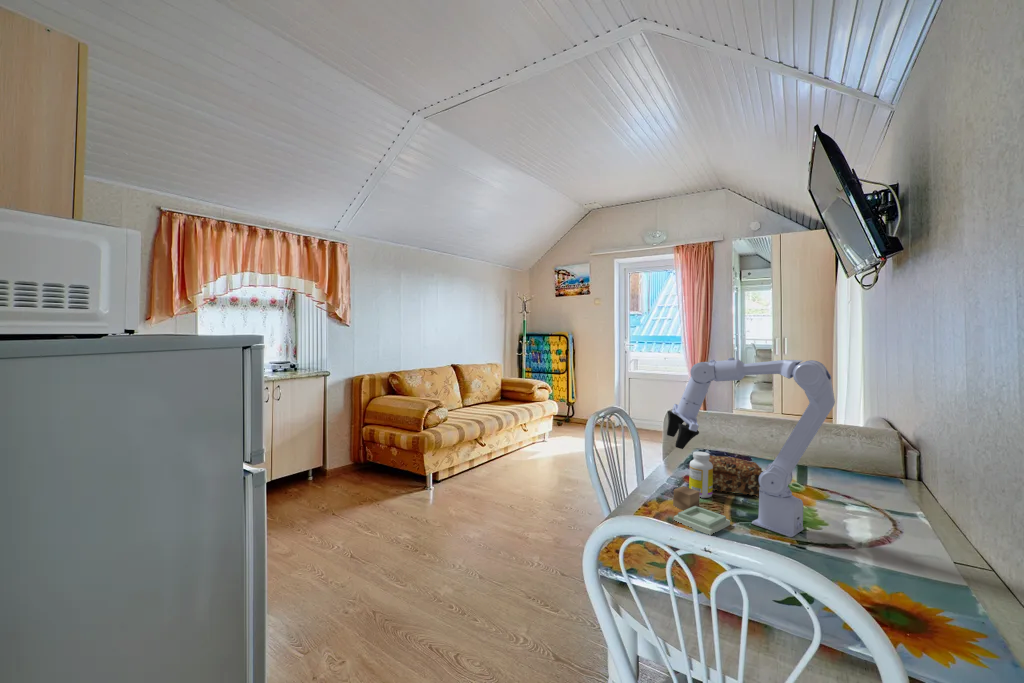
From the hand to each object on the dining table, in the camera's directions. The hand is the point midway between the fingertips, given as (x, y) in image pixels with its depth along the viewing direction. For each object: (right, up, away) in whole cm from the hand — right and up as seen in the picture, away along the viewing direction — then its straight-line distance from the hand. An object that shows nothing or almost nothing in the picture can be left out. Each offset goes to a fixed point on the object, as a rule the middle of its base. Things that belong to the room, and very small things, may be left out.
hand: (674, 441), depth 129 cm
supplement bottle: (+10, -18, +5) cm, 21 cm away
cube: (+1, -18, -5) cm, 19 cm away
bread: (+21, -18, +11) cm, 30 cm away
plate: (+1, -18, -15) cm, 24 cm away
